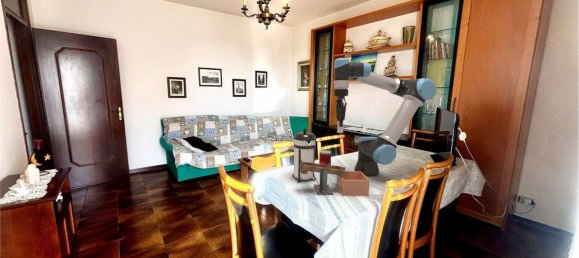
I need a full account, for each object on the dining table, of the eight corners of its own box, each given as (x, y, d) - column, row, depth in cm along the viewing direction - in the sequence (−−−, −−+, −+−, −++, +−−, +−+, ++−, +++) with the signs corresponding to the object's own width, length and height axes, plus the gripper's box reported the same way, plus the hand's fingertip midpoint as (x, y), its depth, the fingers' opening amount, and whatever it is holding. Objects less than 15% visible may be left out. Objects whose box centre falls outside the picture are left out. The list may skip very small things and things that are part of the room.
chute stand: (316, 194, 119) (317, 170, 117) (313, 186, 130) (314, 163, 128) (332, 194, 119) (333, 170, 117) (328, 186, 130) (329, 163, 128)
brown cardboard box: (359, 185, 132) (360, 171, 130) (368, 195, 119) (369, 180, 117) (336, 185, 131) (336, 171, 130) (342, 195, 118) (342, 180, 117)
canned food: (328, 170, 157) (328, 153, 155) (317, 167, 161) (317, 152, 159) (332, 167, 163) (333, 151, 161) (321, 165, 167) (322, 149, 166)
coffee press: (321, 177, 144) (323, 127, 139) (308, 185, 130) (310, 131, 126) (297, 171, 153) (297, 125, 148) (282, 179, 140) (283, 128, 135)
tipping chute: (300, 173, 119) (302, 163, 118) (298, 165, 132) (300, 156, 131) (347, 180, 120) (349, 169, 119) (341, 171, 133) (342, 162, 132)
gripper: (331, 88, 133) (330, 130, 137) (337, 88, 120) (336, 134, 124) (344, 88, 134) (343, 130, 137) (352, 88, 121) (350, 134, 125)
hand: (340, 132), depth 131 cm, fingers closed
